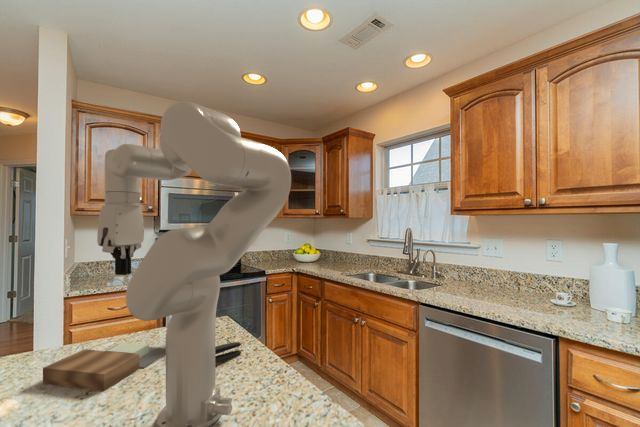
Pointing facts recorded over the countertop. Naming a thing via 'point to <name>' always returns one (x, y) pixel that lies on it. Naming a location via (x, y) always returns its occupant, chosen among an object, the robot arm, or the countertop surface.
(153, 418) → the countertop surface
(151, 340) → the countertop surface
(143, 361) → the mat
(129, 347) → the pale green flat block
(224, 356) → the can opener
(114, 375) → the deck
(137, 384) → the countertop surface
